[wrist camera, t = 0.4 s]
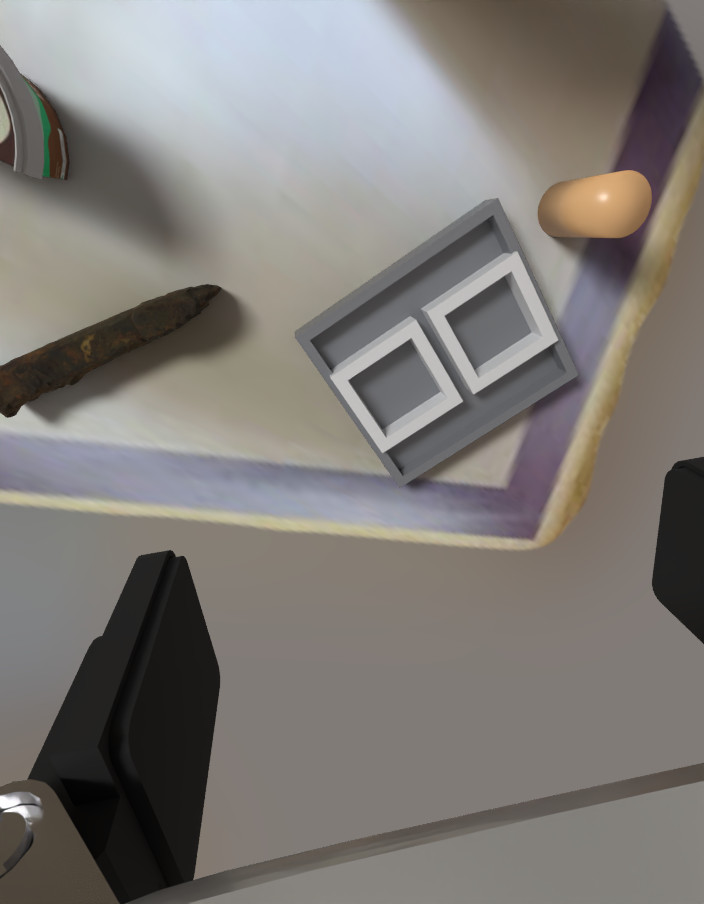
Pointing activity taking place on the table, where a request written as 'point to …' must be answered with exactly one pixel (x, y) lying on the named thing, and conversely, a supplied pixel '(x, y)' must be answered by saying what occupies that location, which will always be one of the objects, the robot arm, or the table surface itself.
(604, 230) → the rounded peg
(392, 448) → the tray
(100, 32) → the table surface
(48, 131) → the food container
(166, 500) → the table surface
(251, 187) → the table surface
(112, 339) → the hand tool
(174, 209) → the table surface
